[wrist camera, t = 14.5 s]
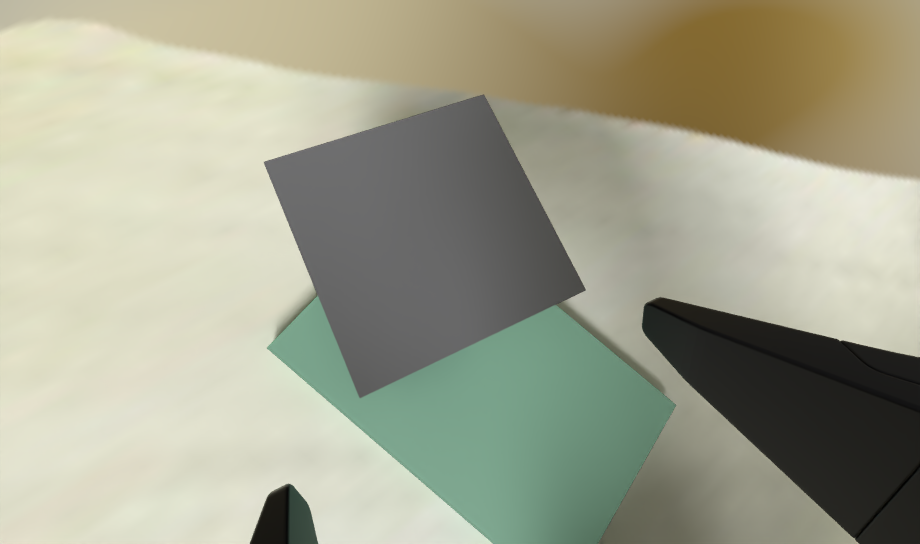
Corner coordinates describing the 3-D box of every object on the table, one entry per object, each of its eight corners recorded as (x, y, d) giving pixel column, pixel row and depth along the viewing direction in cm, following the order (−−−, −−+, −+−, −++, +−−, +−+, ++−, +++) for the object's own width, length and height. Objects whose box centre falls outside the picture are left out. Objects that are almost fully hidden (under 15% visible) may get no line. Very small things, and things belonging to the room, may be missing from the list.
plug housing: (472, 338, 20) (585, 290, 8) (380, 381, 19) (359, 398, 7) (432, 251, 21) (483, 94, 9) (341, 288, 20) (263, 162, 8)
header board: (664, 403, 22) (712, 409, 19) (554, 592, 19) (589, 639, 16) (418, 198, 23) (422, 168, 19) (273, 349, 20) (248, 344, 16)
